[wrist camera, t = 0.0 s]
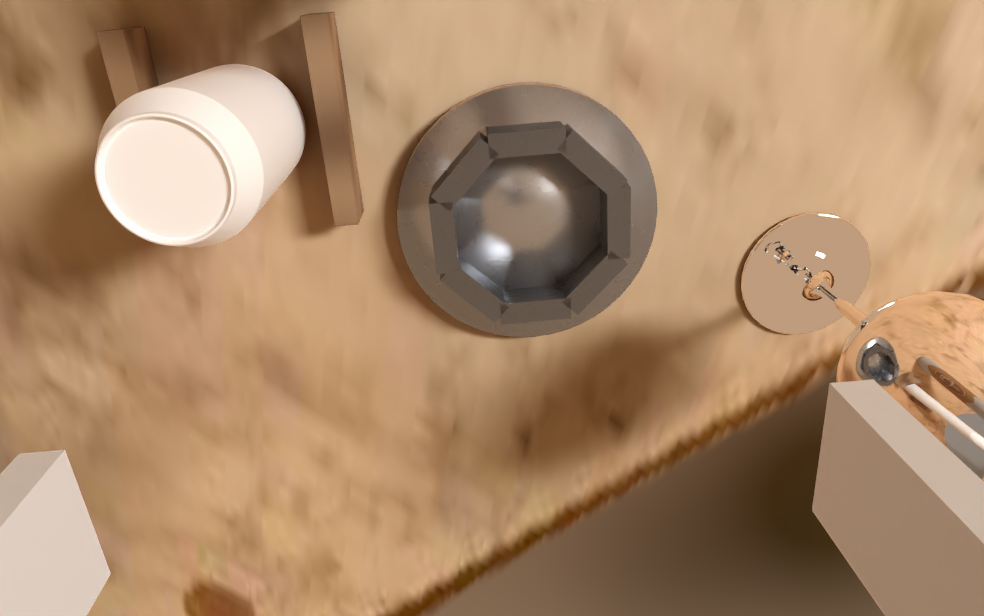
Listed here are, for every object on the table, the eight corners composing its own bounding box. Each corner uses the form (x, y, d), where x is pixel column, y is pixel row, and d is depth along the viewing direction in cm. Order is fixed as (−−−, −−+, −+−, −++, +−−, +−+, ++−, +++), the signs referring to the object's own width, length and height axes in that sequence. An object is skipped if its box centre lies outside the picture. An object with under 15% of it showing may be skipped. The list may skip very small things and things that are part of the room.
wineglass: (873, 197, 41) (1219, 370, 22) (868, 321, 44) (1167, 561, 26) (735, 223, 41) (966, 414, 23) (739, 344, 44) (945, 599, 26)
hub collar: (382, 93, 37) (376, 102, 34) (655, 71, 37) (671, 78, 34) (413, 339, 43) (411, 363, 40) (650, 318, 43) (663, 341, 40)
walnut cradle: (118, 28, 35) (95, 31, 33) (334, 12, 35) (326, 13, 33) (170, 226, 39) (153, 241, 37) (363, 210, 39) (358, 224, 37)
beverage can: (184, 173, 38) (76, 248, 27) (187, 50, 36) (71, 78, 25) (304, 193, 39) (247, 274, 28) (315, 74, 36) (257, 112, 25)
